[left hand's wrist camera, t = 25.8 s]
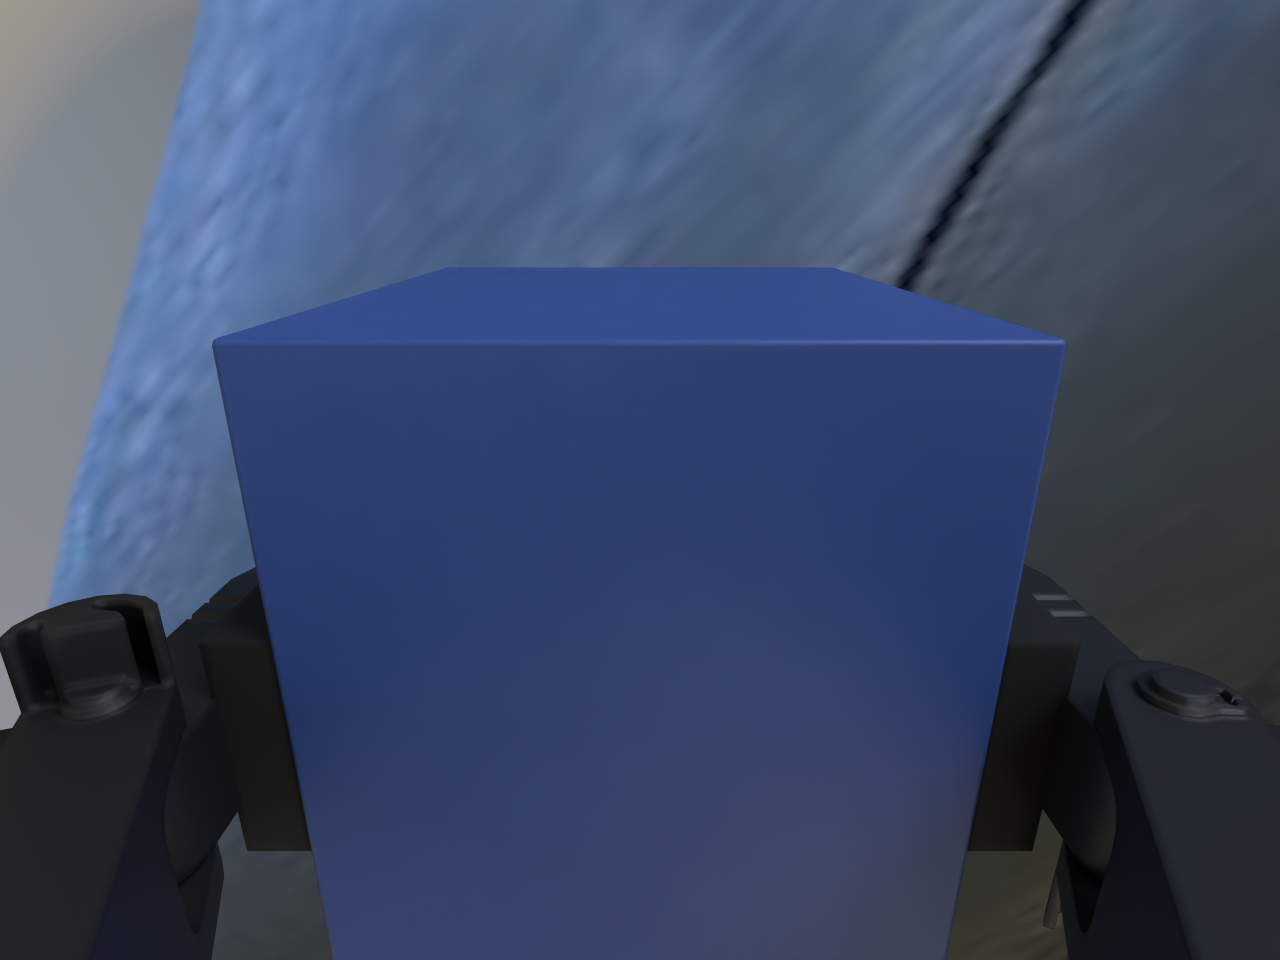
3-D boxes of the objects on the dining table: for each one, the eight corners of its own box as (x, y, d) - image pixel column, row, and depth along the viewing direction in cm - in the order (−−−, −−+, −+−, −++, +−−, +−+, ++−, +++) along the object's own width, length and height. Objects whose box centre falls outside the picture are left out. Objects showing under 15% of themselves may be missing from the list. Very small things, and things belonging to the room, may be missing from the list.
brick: (834, 267, 14) (1071, 338, 6) (800, 668, 17) (931, 1043, 9) (444, 267, 14) (207, 338, 6) (479, 667, 17) (347, 1043, 9)
